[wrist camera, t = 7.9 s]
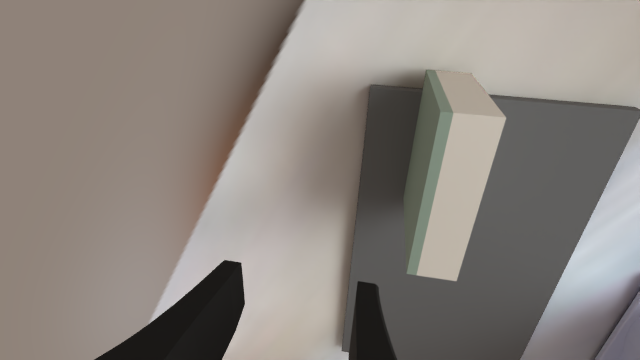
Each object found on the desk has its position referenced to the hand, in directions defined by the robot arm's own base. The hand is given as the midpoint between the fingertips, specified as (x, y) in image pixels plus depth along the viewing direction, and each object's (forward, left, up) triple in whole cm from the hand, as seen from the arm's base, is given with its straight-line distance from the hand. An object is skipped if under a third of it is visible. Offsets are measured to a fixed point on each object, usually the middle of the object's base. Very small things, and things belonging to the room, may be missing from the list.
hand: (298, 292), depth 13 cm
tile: (+3, -5, -9) cm, 10 cm away
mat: (-5, -8, -9) cm, 13 cm away
